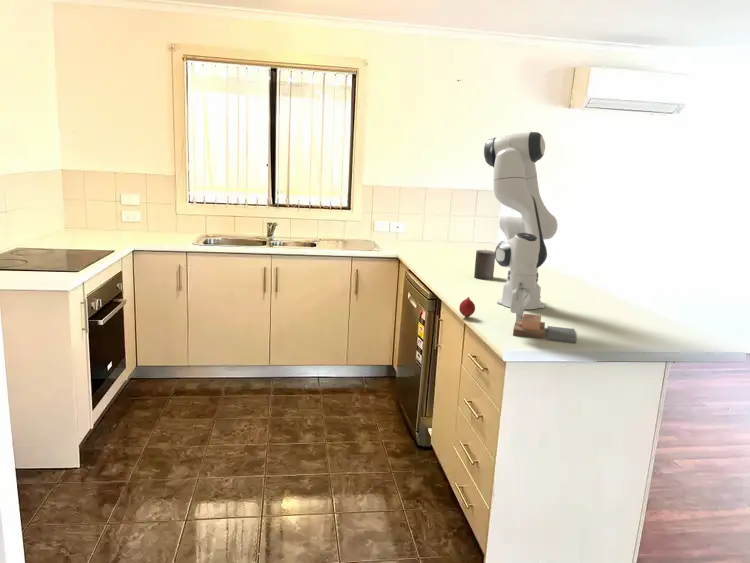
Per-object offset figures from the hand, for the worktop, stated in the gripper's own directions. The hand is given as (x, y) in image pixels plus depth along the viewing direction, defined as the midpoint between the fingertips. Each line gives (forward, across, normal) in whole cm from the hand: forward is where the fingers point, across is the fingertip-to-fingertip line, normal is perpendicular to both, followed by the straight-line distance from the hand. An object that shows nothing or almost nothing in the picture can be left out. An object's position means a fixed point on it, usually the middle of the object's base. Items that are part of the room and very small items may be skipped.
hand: (519, 320), depth 195 cm
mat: (+4, +1, -14) cm, 15 cm away
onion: (+4, +7, +20) cm, 22 cm away
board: (+4, 0, -4) cm, 5 cm away
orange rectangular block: (+2, 0, -4) cm, 4 cm away
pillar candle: (+4, +87, +32) cm, 93 cm away
